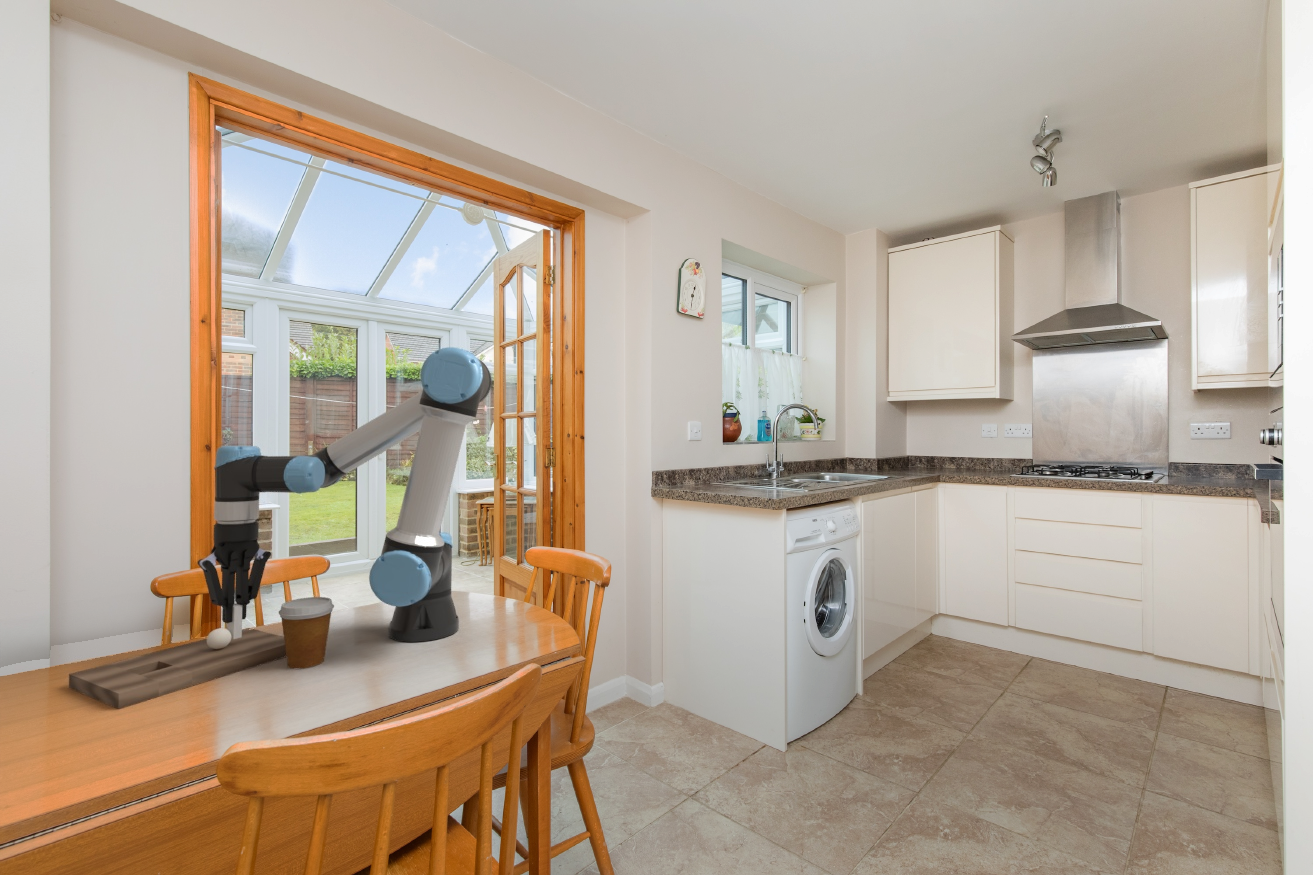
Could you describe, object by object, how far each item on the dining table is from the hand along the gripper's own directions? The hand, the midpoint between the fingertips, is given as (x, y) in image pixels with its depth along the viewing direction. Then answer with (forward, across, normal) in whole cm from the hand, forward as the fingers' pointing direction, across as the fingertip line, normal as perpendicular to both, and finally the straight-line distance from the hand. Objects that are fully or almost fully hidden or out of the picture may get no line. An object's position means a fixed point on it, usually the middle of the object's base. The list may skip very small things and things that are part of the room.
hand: (233, 636), depth 122 cm
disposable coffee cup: (+4, -5, +16) cm, 17 cm away
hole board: (+4, +7, 0) cm, 8 cm away
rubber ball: (0, +3, 0) cm, 3 cm away
